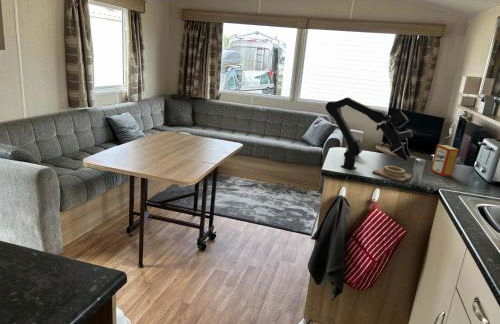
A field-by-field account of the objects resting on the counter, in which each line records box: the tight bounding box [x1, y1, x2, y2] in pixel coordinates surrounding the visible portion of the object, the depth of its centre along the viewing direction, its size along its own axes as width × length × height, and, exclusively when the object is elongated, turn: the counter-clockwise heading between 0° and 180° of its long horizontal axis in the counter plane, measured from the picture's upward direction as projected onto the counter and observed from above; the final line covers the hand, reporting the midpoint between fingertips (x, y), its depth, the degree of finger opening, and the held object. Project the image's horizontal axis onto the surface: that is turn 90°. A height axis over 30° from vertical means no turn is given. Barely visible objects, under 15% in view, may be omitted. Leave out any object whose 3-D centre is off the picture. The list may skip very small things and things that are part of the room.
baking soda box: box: [430, 144, 460, 177], centre depth 208 cm, size 10×6×16 cm
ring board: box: [371, 165, 412, 183], centre depth 194 cm, size 16×16×4 cm
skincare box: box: [344, 128, 365, 158], centre depth 226 cm, size 8×7×16 cm
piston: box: [409, 158, 427, 187], centre depth 181 cm, size 5×5×13 cm
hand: (408, 158), depth 182 cm, fingers open, 9 cm apart
